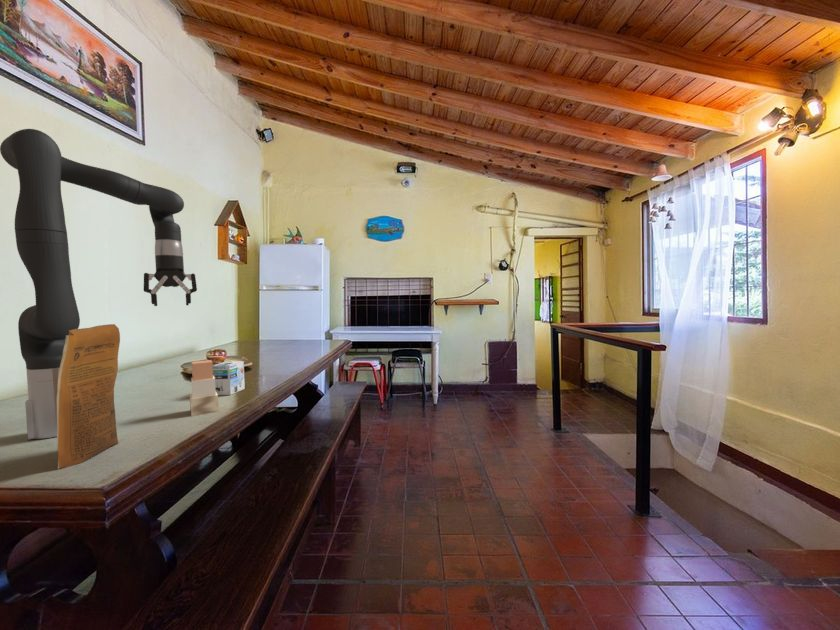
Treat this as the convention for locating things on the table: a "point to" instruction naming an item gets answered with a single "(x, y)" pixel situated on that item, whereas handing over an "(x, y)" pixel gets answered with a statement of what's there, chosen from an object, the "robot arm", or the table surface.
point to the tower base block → (204, 405)
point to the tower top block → (203, 388)
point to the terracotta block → (202, 370)
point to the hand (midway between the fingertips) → (172, 305)
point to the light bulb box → (229, 377)
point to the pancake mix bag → (87, 394)
